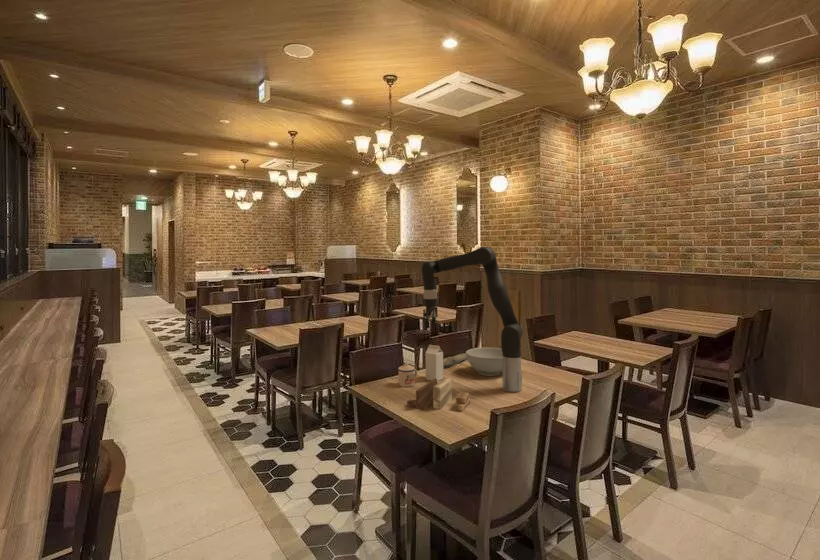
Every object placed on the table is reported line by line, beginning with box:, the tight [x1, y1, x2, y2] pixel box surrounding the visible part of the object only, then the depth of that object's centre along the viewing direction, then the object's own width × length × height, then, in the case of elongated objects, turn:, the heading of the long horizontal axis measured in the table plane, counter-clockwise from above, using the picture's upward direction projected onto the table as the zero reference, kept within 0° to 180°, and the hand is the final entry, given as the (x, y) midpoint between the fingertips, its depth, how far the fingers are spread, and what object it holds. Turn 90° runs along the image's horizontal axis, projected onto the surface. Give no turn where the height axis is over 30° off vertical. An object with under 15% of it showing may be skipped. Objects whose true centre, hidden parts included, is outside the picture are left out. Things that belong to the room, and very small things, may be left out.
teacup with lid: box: [397, 362, 418, 388], centre depth 234 cm, size 12×9×12 cm
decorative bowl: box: [465, 346, 503, 377], centre depth 253 cm, size 27×27×12 cm
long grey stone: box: [443, 352, 468, 369], centre depth 278 cm, size 35×5×10 cm
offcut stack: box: [453, 391, 471, 412], centre depth 200 cm, size 5×11×5 cm, turn 153°
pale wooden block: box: [432, 378, 453, 410], centre depth 204 cm, size 4×14×10 cm, turn 153°
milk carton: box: [424, 344, 444, 382], centre depth 243 cm, size 7×7×19 cm
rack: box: [406, 379, 438, 411], centre depth 208 cm, size 9×21×8 cm, turn 153°
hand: (430, 326), depth 242 cm, fingers open, 8 cm apart
